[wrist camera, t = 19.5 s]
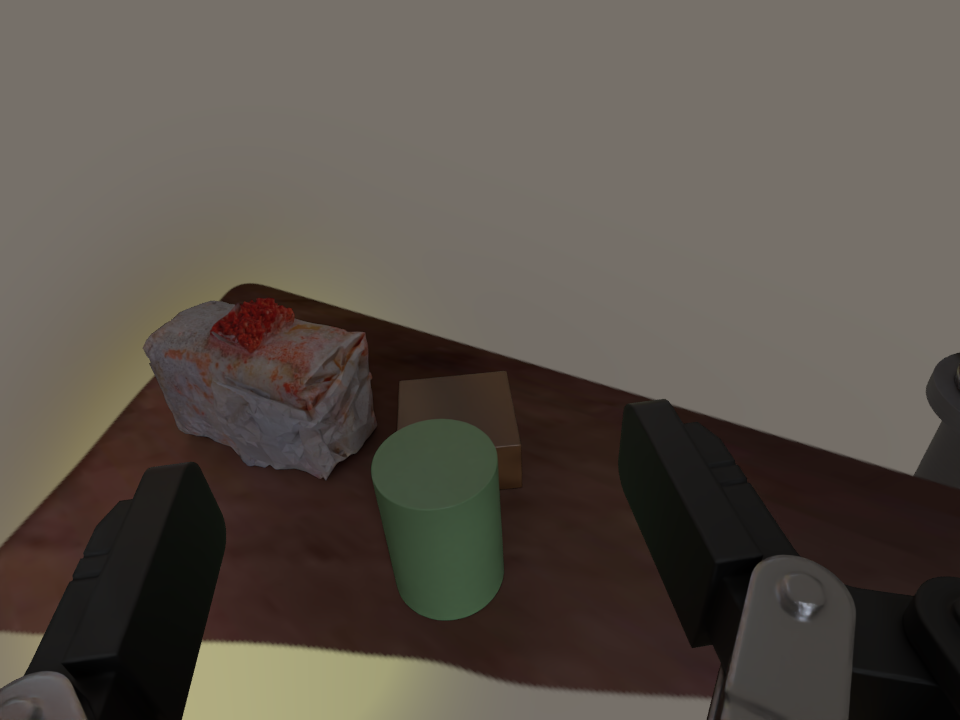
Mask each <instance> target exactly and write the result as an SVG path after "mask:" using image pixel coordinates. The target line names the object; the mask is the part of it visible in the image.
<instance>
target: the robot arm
mask: <svg viewBox="0 0 960 720" xmlns="http://www.w3.org/2000/svg"><path fill="white" fill-rule="evenodd" d="M954 382H955V386H956V388H957V389H958V391H959V392H960V364H959V366H958V368H957V370H956V372H955V374H954ZM618 466H619V475H620V480H621V484H622V488H623V491H624V493H625V496H626V498H627V500H628V503H629V505H630V507H631V509H632V512H633V514H634V516H635V519H636V521H637V523H638V526H639V528H640V530H641V532H642V535H643V537H644V539H645V542H646V544H647V546H648V549H649V551H650V553H651V555H652V558H653V560H654V562H655V565H656V567H657V569H658V572H659V574H660V576H661V578H662V581H663V583H664V585H665V588H666V590H667V592H668V595H669V597H670V599H671V601H672V604H673V606H674V608H675V611H676V613H677V615H678V618H679V620H680V622H681V624H682V627H683V629H684V631H685V634H686V636H687V638H688V641H689V643H690V645H691V647H692V648H695V647H701V646H707V645H713V647H714V649H715V651H716V653H717V655H718V657H719V659H720V662H721V665H720V668H719V671H718V675H717V680H716V684H715V688H714V692H713V696H712V700H711V704H710V708H709V712H708V716H707V720H960V578H957V577H937V578H932V579H930V580H927V581H926V582H924V583H923V584H922V585H921V586H920V588H919V589H918V590H917V592H916V594H915V595H914V596H910V595H903V594H896V593H888V592H881V591H874V590H867V589H861V588H856V587H851V586H848V585H845V584H843V583H842V582H841V581H840V579H839V578H837V577H836V576H835V575H834V574H833V573H832V572H830V571H829V570H827V569H826V568H825V567H823V566H821V565H819V564H817V563H816V562H813V561H811V560H808V559H806V558H802V557H800V556H799V554H798V553H797V552H796V551H795V549H794V548H793V546H792V545H791V543H790V542H789V540H788V539H787V537H786V536H785V534H784V533H783V532H782V530H781V529H780V527H779V526H778V524H777V523H776V521H775V520H774V518H773V517H772V515H771V514H770V512H769V511H768V509H767V508H766V506H765V505H764V503H763V502H762V500H761V499H760V497H759V496H758V494H757V493H756V491H755V490H754V488H753V487H752V485H751V484H750V483H748V482H747V478H746V476H745V475H744V473H743V472H742V470H741V469H740V467H739V466H738V465H736V464H735V460H734V458H733V457H732V456H731V454H730V453H729V451H728V450H727V448H726V447H725V445H724V444H723V442H722V441H721V439H720V438H718V437H717V436H716V435H714V434H713V433H712V432H710V431H709V430H708V429H706V428H705V427H704V426H702V425H701V424H700V423H698V422H693V423H686V424H683V423H682V421H681V420H680V418H679V417H678V415H677V413H676V412H675V410H674V408H673V407H672V405H671V404H670V402H669V401H667V400H666V399H661V400H653V401H646V402H639V403H631V404H627V405H626V406H625V408H624V413H623V422H622V431H621V441H620V450H619V460H618ZM225 545H226V528H225V522H224V518H223V515H222V513H221V511H220V509H219V507H218V504H217V502H216V500H215V498H214V496H213V494H212V492H211V490H210V488H209V485H208V483H207V481H206V479H205V477H204V475H203V473H202V471H201V469H200V467H199V466H198V464H196V463H195V462H187V463H180V464H172V465H165V466H158V467H151V468H149V469H147V470H146V472H145V473H144V475H143V477H142V479H141V481H140V484H139V486H138V488H137V490H136V493H135V495H134V497H133V499H130V500H123V501H119V502H118V503H117V504H116V506H115V507H114V508H113V509H112V510H111V511H110V512H109V513H108V514H107V515H106V516H105V517H104V518H103V519H102V521H101V522H100V523H99V524H98V525H97V526H96V528H95V530H94V532H93V534H92V536H91V538H90V540H89V542H88V544H87V547H86V549H85V551H84V553H83V554H84V558H82V559H80V561H79V563H78V565H77V567H76V569H75V572H74V574H73V581H71V582H69V584H68V586H67V588H66V590H65V592H64V594H63V597H62V599H61V601H60V603H59V605H58V607H57V609H56V611H55V613H54V615H53V617H52V619H51V621H50V624H49V626H48V628H47V630H46V632H45V634H44V636H43V638H42V640H41V642H40V645H39V646H38V649H37V651H36V653H35V655H34V657H33V659H32V662H31V663H30V665H29V667H28V669H27V671H26V673H25V674H24V676H23V677H21V678H19V679H16V680H14V681H12V682H11V683H9V684H7V685H6V686H4V687H3V688H1V689H0V720H182V716H183V712H184V708H185V705H186V701H187V697H188V692H189V689H190V685H191V681H192V677H193V673H194V669H195V665H196V661H197V657H198V653H199V649H200V646H201V642H202V638H203V634H204V630H205V626H206V622H207V618H208V614H209V610H210V606H211V602H212V598H213V594H214V590H215V586H216V582H217V579H218V575H219V571H220V567H221V563H222V559H223V555H224V551H225Z"/></svg>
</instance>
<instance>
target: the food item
mask: <svg viewBox="0 0 960 720" xmlns="http://www.w3.org/2000/svg"><path fill="white" fill-rule="evenodd" d="M143 349H144V351H145V353H146V355H147V357H148V358H149V359H150V361H151V363H149V364H150V366H151V368H152V370H153V372H154V374H155V376H156V378H157V380H158V382H159V385H160V387H161V389H162V391H163V393H164V397H165V400H166V402H167V404H168V406H169V409H170V410H171V411H172V412H173V415H174V418H175V421H176V424H177V427H178V428H179V430H181V431H182V432H184V433H185V434H193V435H196V436H205V437H209V438H211V439H213V440H214V441H216V442H219V443H221V444H224V445H227V446H231V447H232V448H233V449H234V450H235V452H236V453H237V454H238V455H239V456H240V457H241V459H242V461H243V462H245V463H246V464H247V465H248V466H254V465H256V466H260V467H264V468H265V467H266V466H268V465H271V466H272V467H273V468H275V469H294V468H295V469H299V470H302V471H306V472H308V473H310V474H312V475H313V476H315V477H317V478H319V479H321V478H323V477H324V479H325V480H326V479H327V478H328V476H329V474H330V473H331V472H332V470H333V469H334V467H335V466H336V464H337V463H338V462H340V461H343V460H345V459H346V458H347V457H348V456H349V455H350V454H356V453H357V452H358V451H359V449H360V448H361V447H362V446H363V444H364V441H365V440H366V439H367V438H368V437H370V435H371V434H372V432H373V431H374V430H375V428H376V427H377V421H376V417H375V414H374V409H373V396H372V389H371V384H370V380H371V379H372V375H371V372H369V366H368V353H369V351H368V343H367V340H366V335H365V332H346V330H345V329H339V328H337V327H332V326H326V325H320V324H313V323H309V322H305V321H301V320H298V319H295V316H294V312H293V311H292V308H291V309H290V308H287V309H286V308H285V307H284V306H282V305H281V306H278V305H277V303H274V299H273V298H267V299H266V298H265V299H262V298H257V300H256V302H255V303H254V302H253V301H252V300H251V301H250V302H244V303H243V305H241V304H239V303H237V304H236V305H234V304H228V303H226V302H222V301H209V302H205V303H202V304H199V305H197V306H194V307H191V308H189V309H186V310H184V311H182V312H180V313H178V314H177V315H176V316H175V317H174V318H173V319H172V320H171V321H169V322H167V323H165V324H164V325H163V326H161V327H160V328H159V329H158V330H156V331H155V332H154V333H152V334H151V335H150V336H149V338H148V339H147V340H146V342H145V344H144V347H143Z"/></svg>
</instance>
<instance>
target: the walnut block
mask: <svg viewBox="0 0 960 720" xmlns="http://www.w3.org/2000/svg"><path fill="white" fill-rule="evenodd" d="M432 419H452V420H458V421H462V422H465V423H468V424H471V425H473V426H475V427H477V428H479V429H480V430H481V431H483V432H484V433H485V434H486V435H487V436H488V437H489V438H490V439H491V441H492V442H493V444H494V446H495V448H496V451H497V457H498V473H499V490H502V489H511V488H521V487H522V462H521V442H520V437H519V432H518V427H517V422H516V417H515V412H514V407H513V402H512V397H511V392H510V387H509V382H508V377H507V372H506V371H501V372H490V373H480V374H469V375H459V376H449V377H438V378H428V379H417V380H407V381H399V398H398V420H397V431H398V430H400V429H402V428H404V427H406V426H408V425H411V424H414V423H417V422H421V421H425V420H432Z"/></svg>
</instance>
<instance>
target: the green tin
mask: <svg viewBox="0 0 960 720" xmlns="http://www.w3.org/2000/svg"><path fill="white" fill-rule="evenodd" d="M371 476H372V481H373V485H374V489H375V494H376V498H377V502H378V507H379V511H380V515H381V519H382V524H383V528H384V532H385V537H386V541H387V545H388V550H389V554H390V558H391V562H392V567H393V571H394V575H395V580H396V584H397V588H398V591H399V593H400V596H401V597H402V599H403V600H404V602H405V603H406V604H407V605H408V606H409V607H410V608H411V609H412V610H414V611H415V612H417V613H418V614H420V615H423V616H425V617H428V618H431V619H436V620H456V619H461V618H464V617H467V616H470V615H472V614H474V613H476V612H478V611H479V610H481V609H482V608H484V607H485V606H486V605H487V604H488V603H489V602H490V601H491V600H492V599H493V598H494V596H495V595H496V593H497V592H498V590H499V588H500V586H501V583H502V580H503V575H504V561H503V544H502V526H501V508H500V490H499V473H498V457H497V451H496V448H495V446H494V444H493V442H492V441H491V439H490V438H489V437H488V436H487V435H486V434H485V433H484V432H483V431H481V430H480V429H479V428H477V427H475V426H473V425H471V424H468V423H465V422H462V421H458V420H452V419H432V420H425V421H421V422H417V423H414V424H411V425H408V426H406V427H404V428H402V429H400V430H398V431H397V432H395V433H394V434H392V435H391V436H389V437H388V438H387V439H386V440H385V441H384V442H383V443H382V444H381V446H380V447H379V448H378V450H377V451H376V453H375V455H374V458H373V461H372V465H371Z"/></svg>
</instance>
